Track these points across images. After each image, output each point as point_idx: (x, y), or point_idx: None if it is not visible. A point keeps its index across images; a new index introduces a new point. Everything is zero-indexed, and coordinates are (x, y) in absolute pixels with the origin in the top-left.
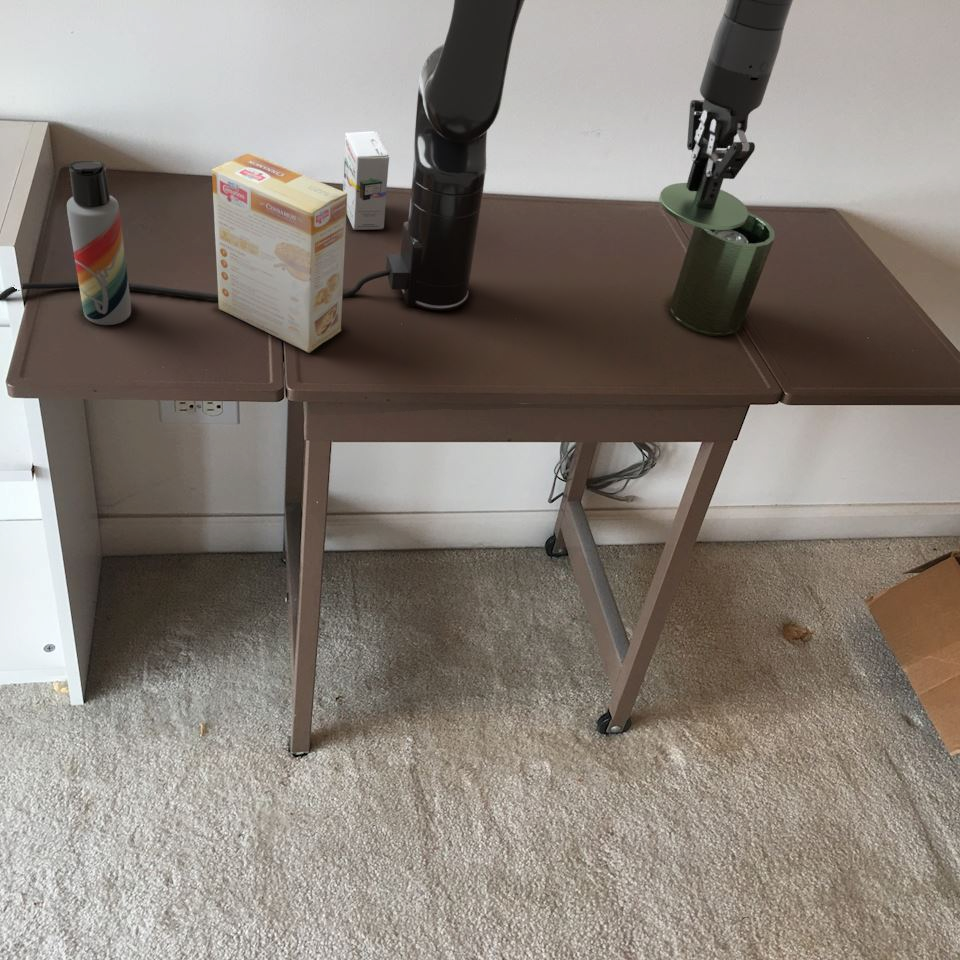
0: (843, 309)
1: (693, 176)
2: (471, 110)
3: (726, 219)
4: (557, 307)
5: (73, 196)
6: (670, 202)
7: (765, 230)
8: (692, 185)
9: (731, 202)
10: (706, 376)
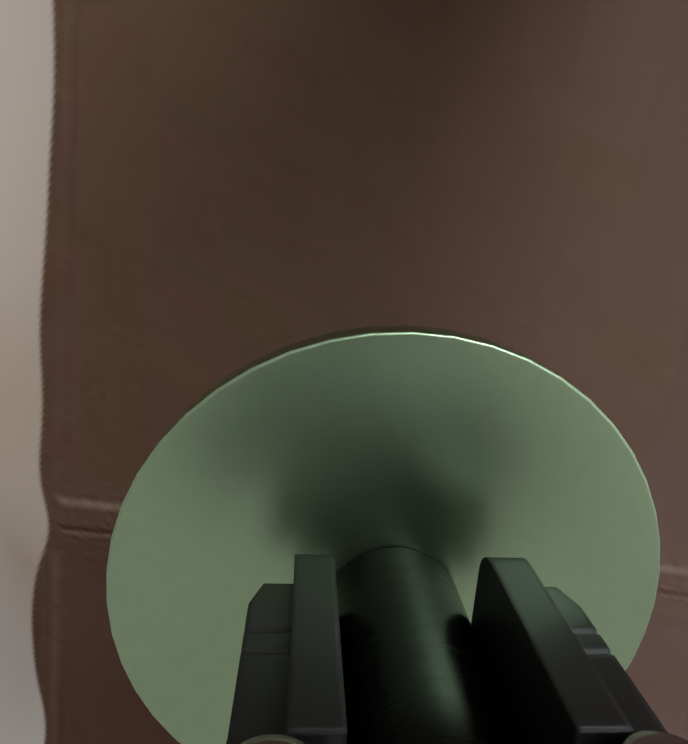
0: None
1: (522, 639)
2: None
3: (189, 650)
4: (472, 67)
5: None
6: (431, 390)
7: None
8: (493, 596)
9: None
10: (109, 367)
